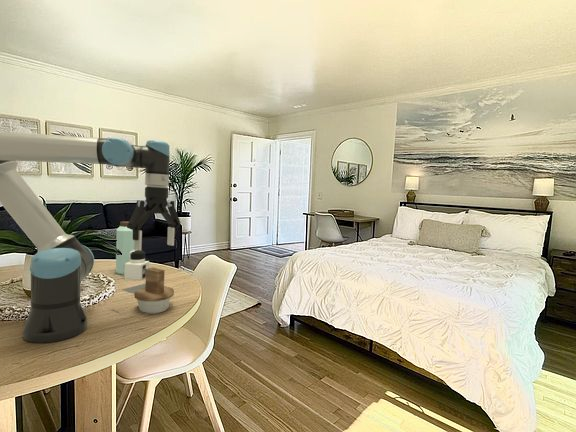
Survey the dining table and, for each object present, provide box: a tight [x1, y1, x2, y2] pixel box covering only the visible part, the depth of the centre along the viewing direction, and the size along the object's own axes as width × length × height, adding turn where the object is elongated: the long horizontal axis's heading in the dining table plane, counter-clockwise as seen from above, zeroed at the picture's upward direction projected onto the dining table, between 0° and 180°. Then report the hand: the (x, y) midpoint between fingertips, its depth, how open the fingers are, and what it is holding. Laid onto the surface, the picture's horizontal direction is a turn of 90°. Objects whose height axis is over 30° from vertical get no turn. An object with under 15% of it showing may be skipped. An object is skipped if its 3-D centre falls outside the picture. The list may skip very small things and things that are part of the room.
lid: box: [133, 267, 175, 301], centre depth 115 cm, size 13×13×9 cm
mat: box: [121, 283, 174, 295], centre depth 135 cm, size 14×14×1 cm
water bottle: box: [115, 220, 135, 276], centre depth 158 cm, size 10×10×25 cm
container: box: [124, 249, 150, 281], centre depth 151 cm, size 8×8×13 cm
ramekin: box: [137, 298, 171, 315], centre depth 116 cm, size 11×11×5 cm
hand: (155, 247), depth 114 cm, fingers open, 13 cm apart
